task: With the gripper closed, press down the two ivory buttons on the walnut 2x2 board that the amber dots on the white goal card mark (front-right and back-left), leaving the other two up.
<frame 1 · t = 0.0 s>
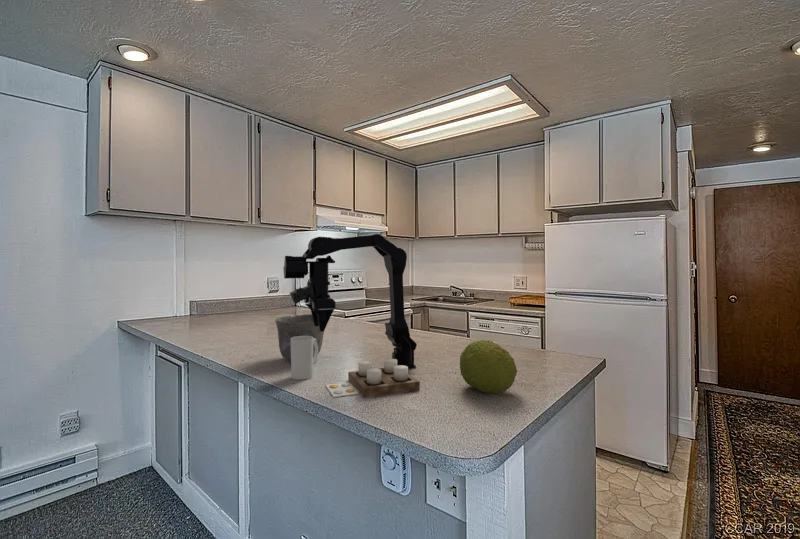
hand: (319, 328, 121), 15 cm above the countertop, fingers open, 9 cm apart
button c: (365, 368, 115), point 4 cm above the countertop, slide at 0.0 cm
button a: (390, 365, 118), point 4 cm above the countertop, slide at 0.0 cm
goal card: (341, 390, 109), on the countertop
mug: (306, 376, 122), on the countertop
button d: (374, 376, 108), point 4 cm above the countertop, slide at 0.0 cm
button b: (400, 372, 111), point 4 cm above the countertop, slide at 0.0 cm
board: (382, 384, 113), on the countertop
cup: (302, 360, 141), on the countertop
fruit: (485, 390, 109), on the countertop
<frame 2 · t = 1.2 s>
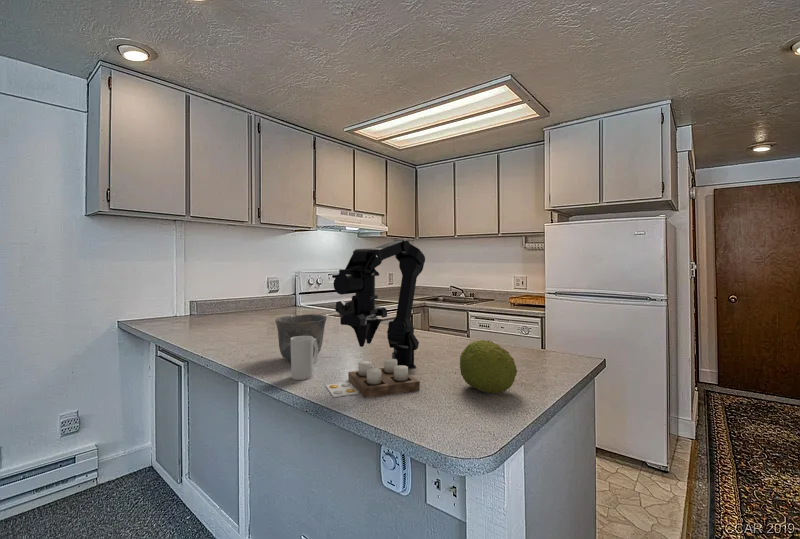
hand: (365, 345, 115), 11 cm above the countertop, fingers open, 4 cm apart
nothing on the countertop moved.
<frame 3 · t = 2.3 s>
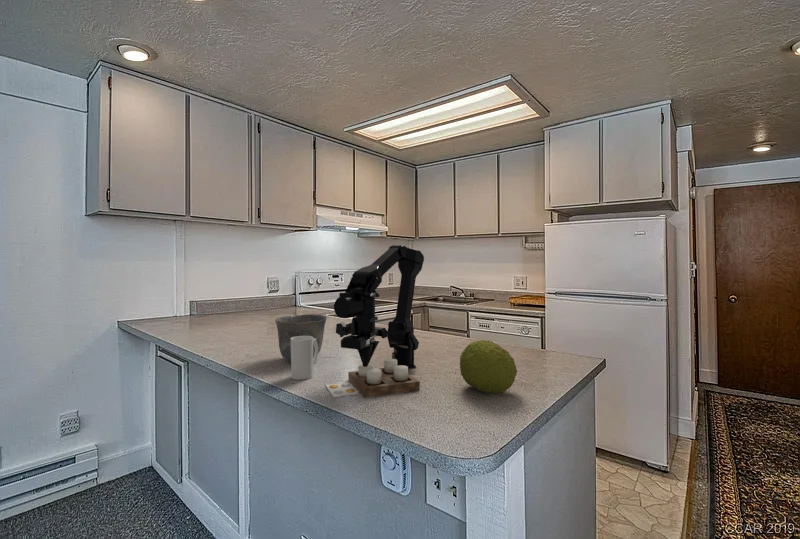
hand: (365, 366, 115), 5 cm above the countertop, fingers closed, pressing on button c
button c: (365, 371, 115), point 3 cm above the countertop, slide at 1.0 cm, touching gripper
everything else where it was.
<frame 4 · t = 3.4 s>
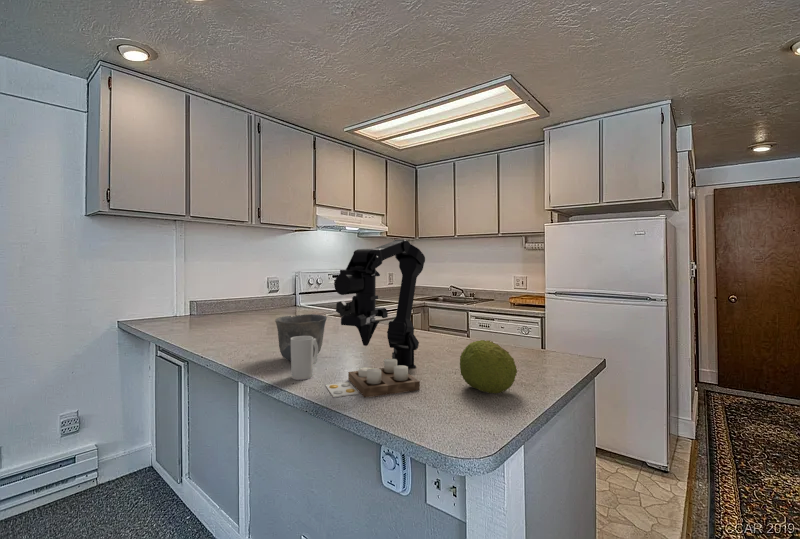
hand: (365, 345, 115), 11 cm above the countertop, fingers closed
button c: (365, 375, 115), point 2 cm above the countertop, slide at 2.0 cm
everything else where it was.
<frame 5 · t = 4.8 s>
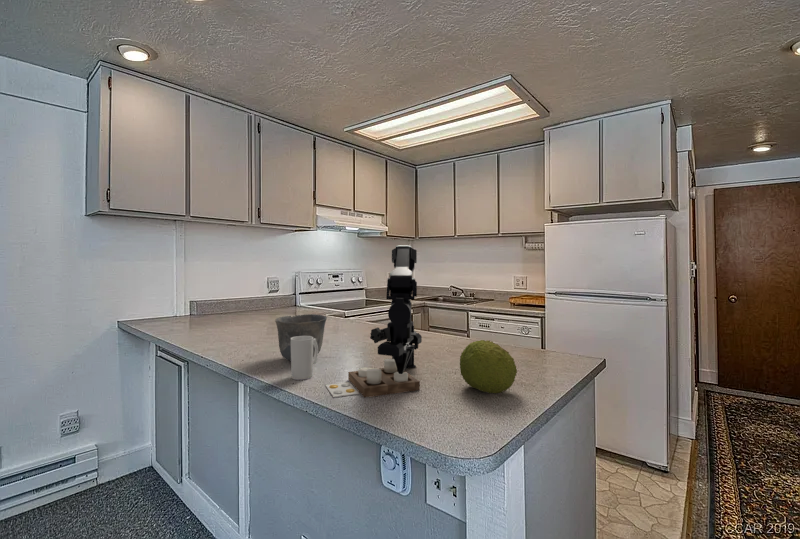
hand: (400, 373, 111), 4 cm above the countertop, fingers closed, pressing on button b
button b: (400, 379, 111), point 2 cm above the countertop, slide at 1.8 cm, touching gripper
everything else where it was.
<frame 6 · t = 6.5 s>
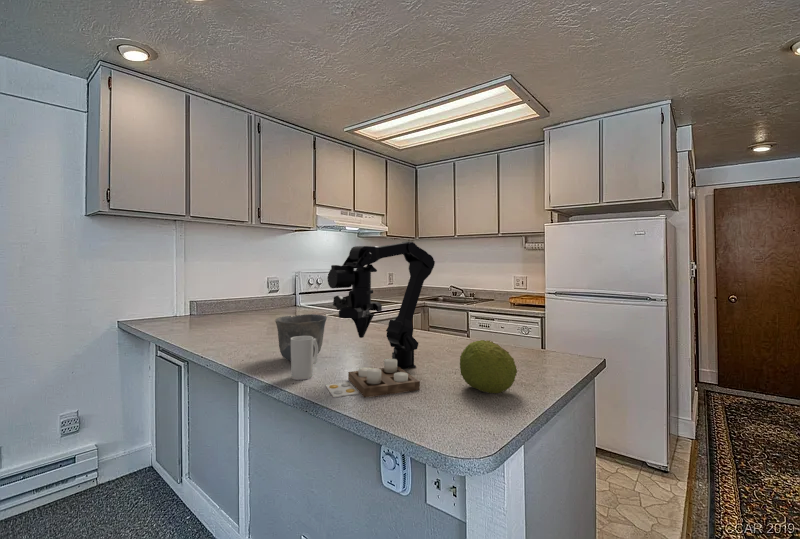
hand: (361, 337, 121), 12 cm above the countertop, fingers closed
button b: (400, 379, 111), point 2 cm above the countertop, slide at 2.0 cm
everything else where it was.
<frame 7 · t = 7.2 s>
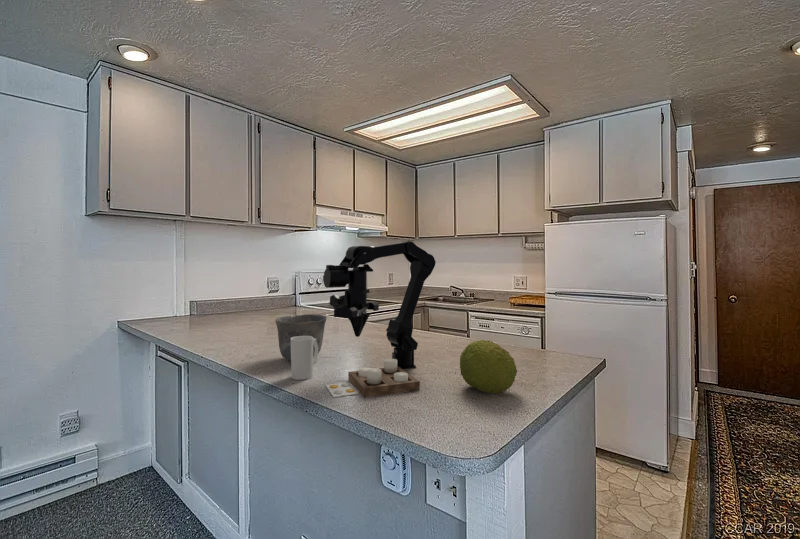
hand: (357, 336, 122), 12 cm above the countertop, fingers closed
nothing on the countertop moved.
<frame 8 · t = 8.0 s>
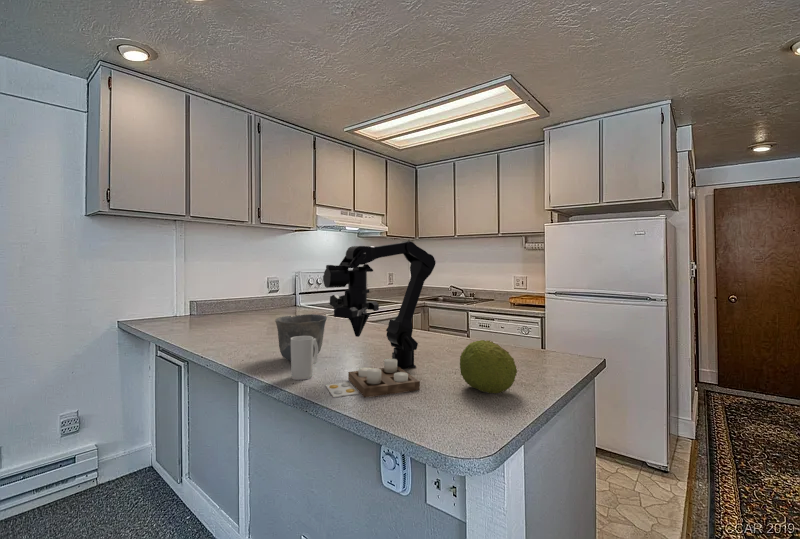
hand: (357, 336, 122), 12 cm above the countertop, fingers closed
nothing on the countertop moved.
at the end: button c slide at 2.0 cm; button b slide at 2.0 cm; button a slide at 0.0 cm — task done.
